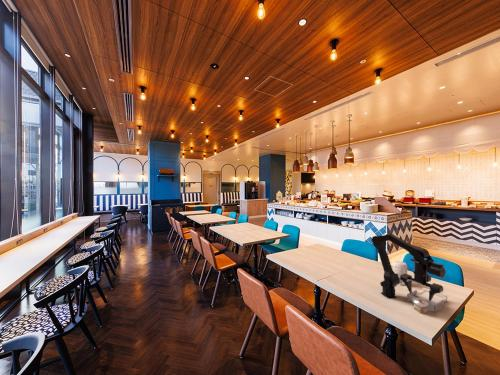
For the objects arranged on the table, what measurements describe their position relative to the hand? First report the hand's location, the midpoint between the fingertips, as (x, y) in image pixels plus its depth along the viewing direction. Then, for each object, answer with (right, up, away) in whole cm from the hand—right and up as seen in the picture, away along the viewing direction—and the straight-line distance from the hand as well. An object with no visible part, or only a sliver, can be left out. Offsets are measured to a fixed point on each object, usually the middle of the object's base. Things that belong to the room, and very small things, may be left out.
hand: (420, 297), depth 119 cm
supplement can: (+13, -8, +34) cm, 37 cm away
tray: (+17, -8, +12) cm, 22 cm away
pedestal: (0, -8, 0) cm, 8 cm away
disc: (0, -4, 0) cm, 4 cm away
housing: (+10, -8, +8) cm, 15 cm away
